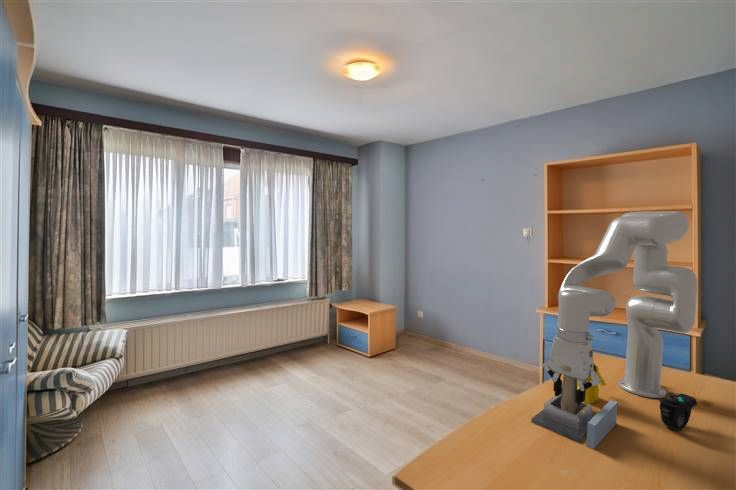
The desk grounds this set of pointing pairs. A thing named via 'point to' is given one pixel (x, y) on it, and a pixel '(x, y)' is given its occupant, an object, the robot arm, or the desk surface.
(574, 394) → the handle
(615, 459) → the desk surface
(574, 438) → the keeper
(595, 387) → the figure statuette
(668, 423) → the controller
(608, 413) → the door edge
